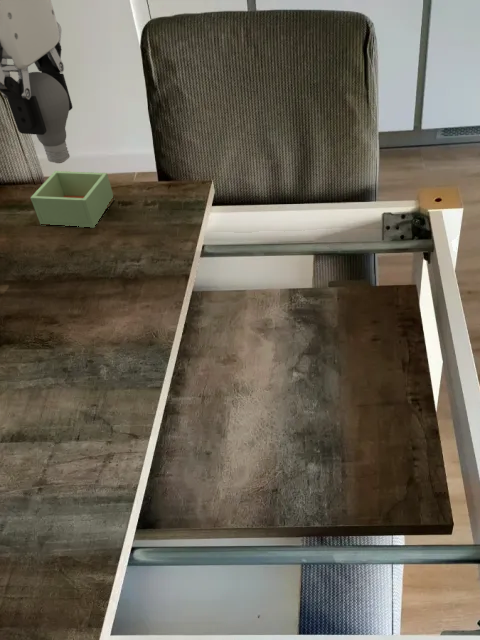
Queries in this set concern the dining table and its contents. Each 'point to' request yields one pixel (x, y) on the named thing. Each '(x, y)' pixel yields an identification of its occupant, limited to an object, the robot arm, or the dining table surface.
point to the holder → (72, 198)
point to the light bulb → (51, 114)
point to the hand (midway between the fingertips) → (46, 119)
